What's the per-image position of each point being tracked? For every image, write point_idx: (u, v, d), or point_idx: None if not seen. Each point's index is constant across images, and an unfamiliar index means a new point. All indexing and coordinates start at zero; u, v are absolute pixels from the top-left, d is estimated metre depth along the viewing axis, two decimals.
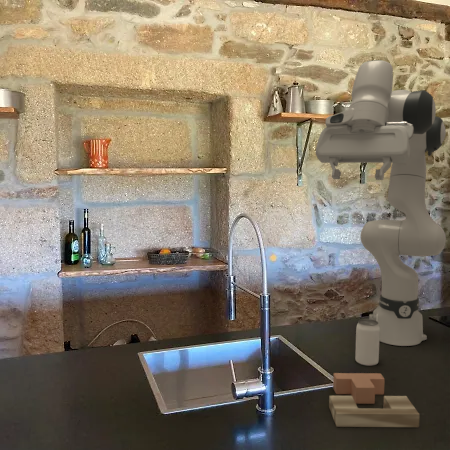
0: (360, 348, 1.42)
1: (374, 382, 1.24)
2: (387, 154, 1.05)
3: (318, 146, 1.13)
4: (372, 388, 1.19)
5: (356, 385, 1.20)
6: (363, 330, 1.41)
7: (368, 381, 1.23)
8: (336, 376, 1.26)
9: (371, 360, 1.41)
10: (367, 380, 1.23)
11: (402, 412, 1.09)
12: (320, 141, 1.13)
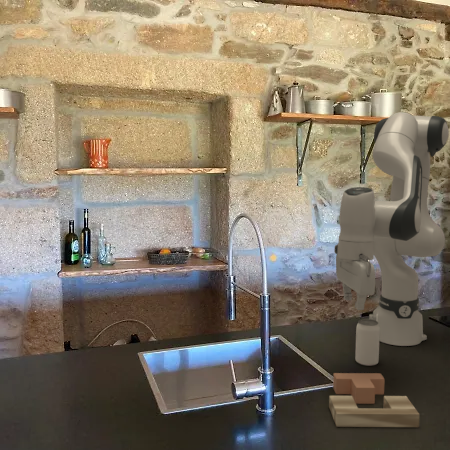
0: (360, 348, 1.42)
1: (374, 382, 1.24)
2: (355, 291, 1.21)
3: (336, 270, 1.36)
4: (372, 388, 1.19)
5: (356, 385, 1.20)
6: (363, 330, 1.41)
7: (368, 381, 1.23)
8: (336, 376, 1.26)
9: (371, 360, 1.41)
10: (367, 380, 1.23)
11: (402, 412, 1.09)
12: (336, 266, 1.36)
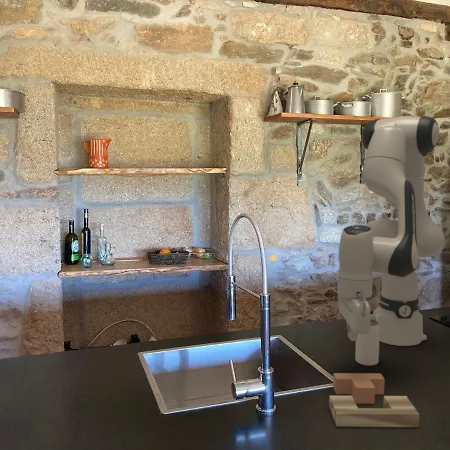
0: (360, 348, 1.42)
1: (374, 382, 1.24)
2: (352, 328, 1.24)
3: (338, 303, 1.40)
4: (372, 388, 1.19)
5: (356, 385, 1.20)
6: None
7: (368, 381, 1.23)
8: (336, 376, 1.26)
9: (371, 360, 1.41)
10: (367, 380, 1.23)
11: (402, 412, 1.09)
12: (338, 300, 1.39)
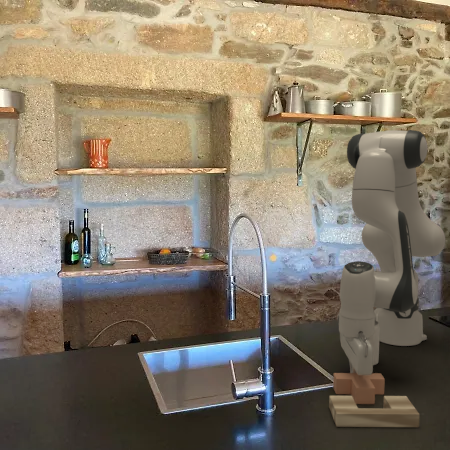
0: None
1: (375, 382, 1.24)
2: (354, 368, 1.22)
3: (340, 338, 1.37)
4: (372, 388, 1.19)
5: (356, 385, 1.20)
6: None
7: (368, 381, 1.22)
8: (336, 376, 1.25)
9: None
10: (367, 380, 1.23)
11: (402, 412, 1.09)
12: (340, 334, 1.37)
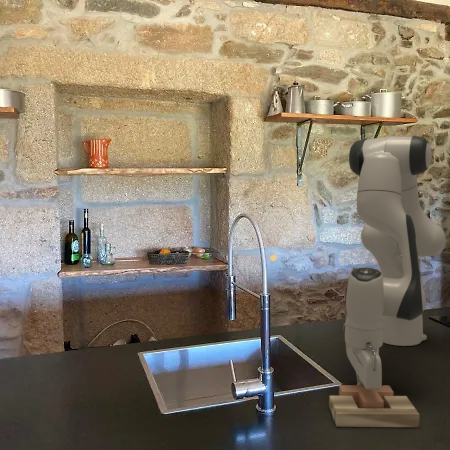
0: None
1: (383, 395, 1.17)
2: (362, 382, 1.15)
3: (346, 348, 1.30)
4: (381, 402, 1.12)
5: (364, 399, 1.13)
6: None
7: (376, 394, 1.16)
8: (342, 389, 1.19)
9: None
10: (375, 393, 1.16)
11: (402, 412, 1.09)
12: None
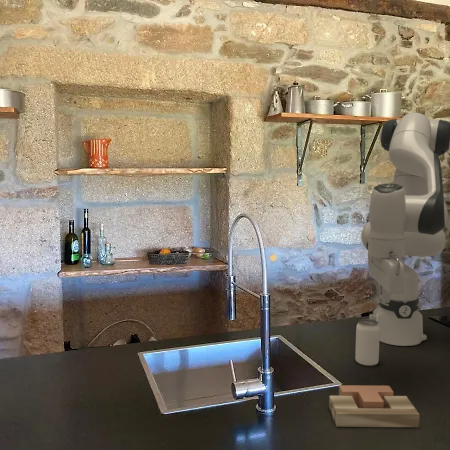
0: (360, 348, 1.42)
1: (383, 395, 1.17)
2: (385, 289, 1.21)
3: (368, 266, 1.36)
4: (381, 402, 1.12)
5: (363, 399, 1.13)
6: (363, 330, 1.41)
7: (376, 394, 1.16)
8: (342, 389, 1.19)
9: (371, 360, 1.41)
10: (375, 393, 1.16)
11: (402, 412, 1.09)
12: (368, 262, 1.36)
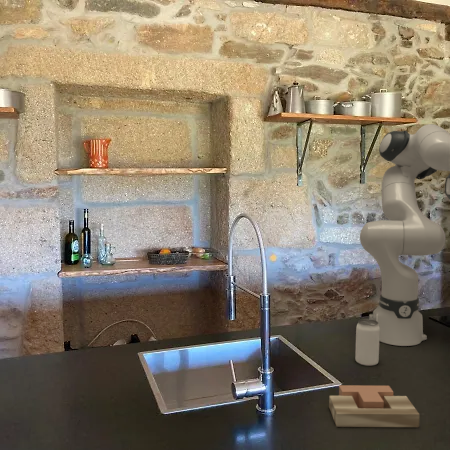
0: (360, 348, 1.42)
1: (383, 395, 1.17)
2: None
3: None
4: (381, 402, 1.12)
5: (363, 399, 1.13)
6: (363, 330, 1.41)
7: (376, 394, 1.16)
8: (342, 389, 1.19)
9: (371, 360, 1.41)
10: (375, 393, 1.16)
11: (402, 412, 1.09)
12: None
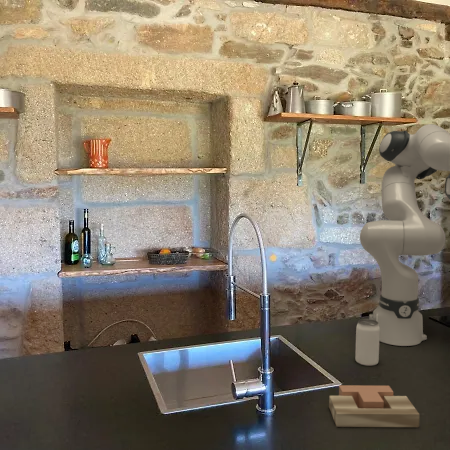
0: (360, 348, 1.42)
1: (383, 395, 1.17)
2: None
3: None
4: (380, 402, 1.12)
5: (363, 399, 1.13)
6: (363, 330, 1.41)
7: (376, 394, 1.16)
8: (342, 389, 1.19)
9: (371, 360, 1.41)
10: (375, 393, 1.16)
11: (402, 412, 1.09)
12: None
